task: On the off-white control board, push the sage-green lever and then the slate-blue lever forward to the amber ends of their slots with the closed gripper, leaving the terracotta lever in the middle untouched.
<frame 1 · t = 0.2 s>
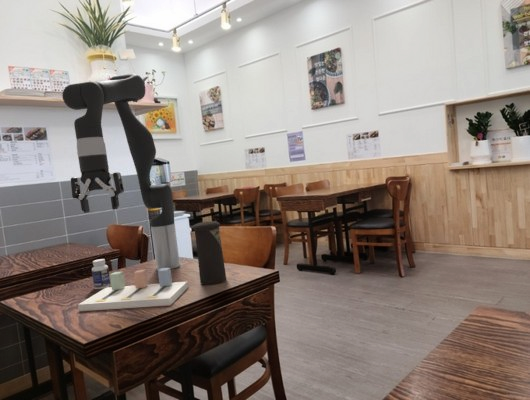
hand: (100, 210, 117), 28 cm above the table, fingers open, 8 cm apart
sage lever: (117, 280, 130), point 5 cm above the table, slide at 0.0 cm
pill bottle: (102, 287, 143), on the table
slate lever: (165, 277, 128), point 5 cm above the table, slide at 0.0 cm
panel: (136, 298, 125), on the table
container: (213, 282, 135), on the table
terracotta lever: (141, 278, 129), point 5 cm above the table, slide at 0.0 cm
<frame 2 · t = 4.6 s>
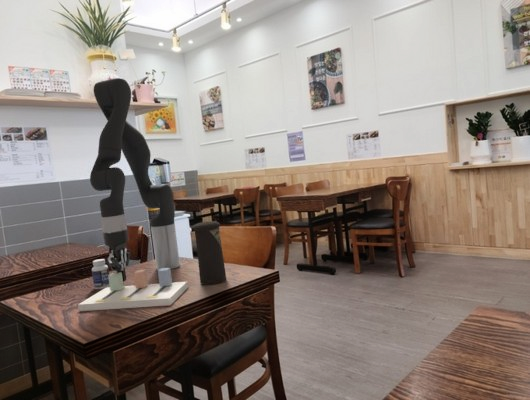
hand: (122, 281, 133), 4 cm above the table, fingers closed
sage lever: (116, 281, 129), point 5 cm above the table, slide at 1.0 cm, touching gripper
everything else where it was.
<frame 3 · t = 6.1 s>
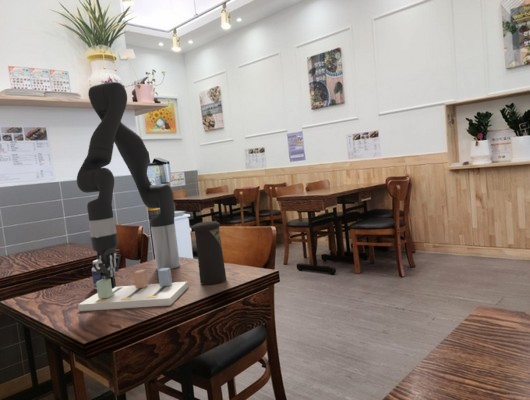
hand: (111, 288, 126), 4 cm above the table, fingers closed
sage lever: (104, 288, 122), point 5 cm above the table, slide at 8.1 cm, touching gripper
everything else where it was.
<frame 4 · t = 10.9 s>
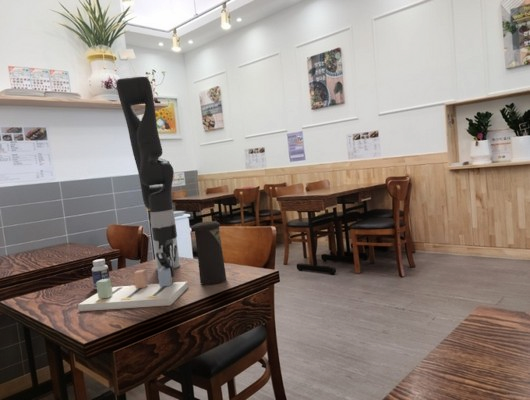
hand: (170, 277, 132), 4 cm above the table, fingers closed
sage lever: (104, 288, 122), point 5 cm above the table, slide at 8.0 cm
slate lever: (164, 277, 128), point 5 cm above the table, slide at 0.2 cm, touching gripper
everything else where it was.
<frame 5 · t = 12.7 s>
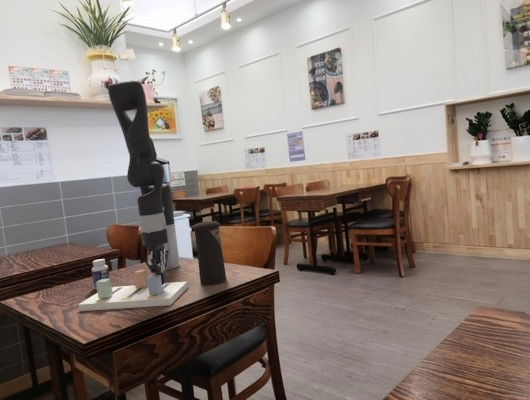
hand: (161, 284, 124), 4 cm above the table, fingers closed
slate lever: (155, 284, 120), point 5 cm above the table, slide at 8.1 cm, touching gripper
everything else where it was.
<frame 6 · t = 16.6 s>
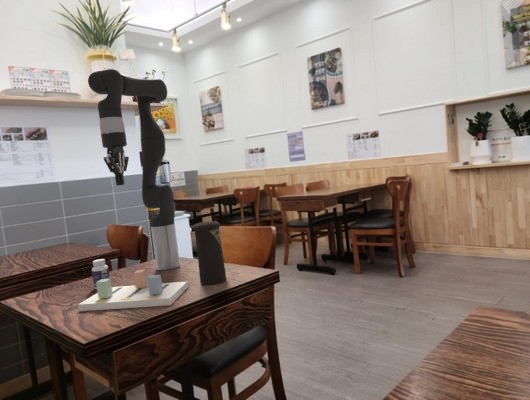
hand: (120, 185, 134), 35 cm above the table, fingers closed
slate lever: (155, 284, 120), point 5 cm above the table, slide at 8.0 cm
everything else where it was.
at the end: sage lever slide at 8.0 cm; slate lever slide at 8.0 cm; terracotta lever slide at 0.0 cm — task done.
